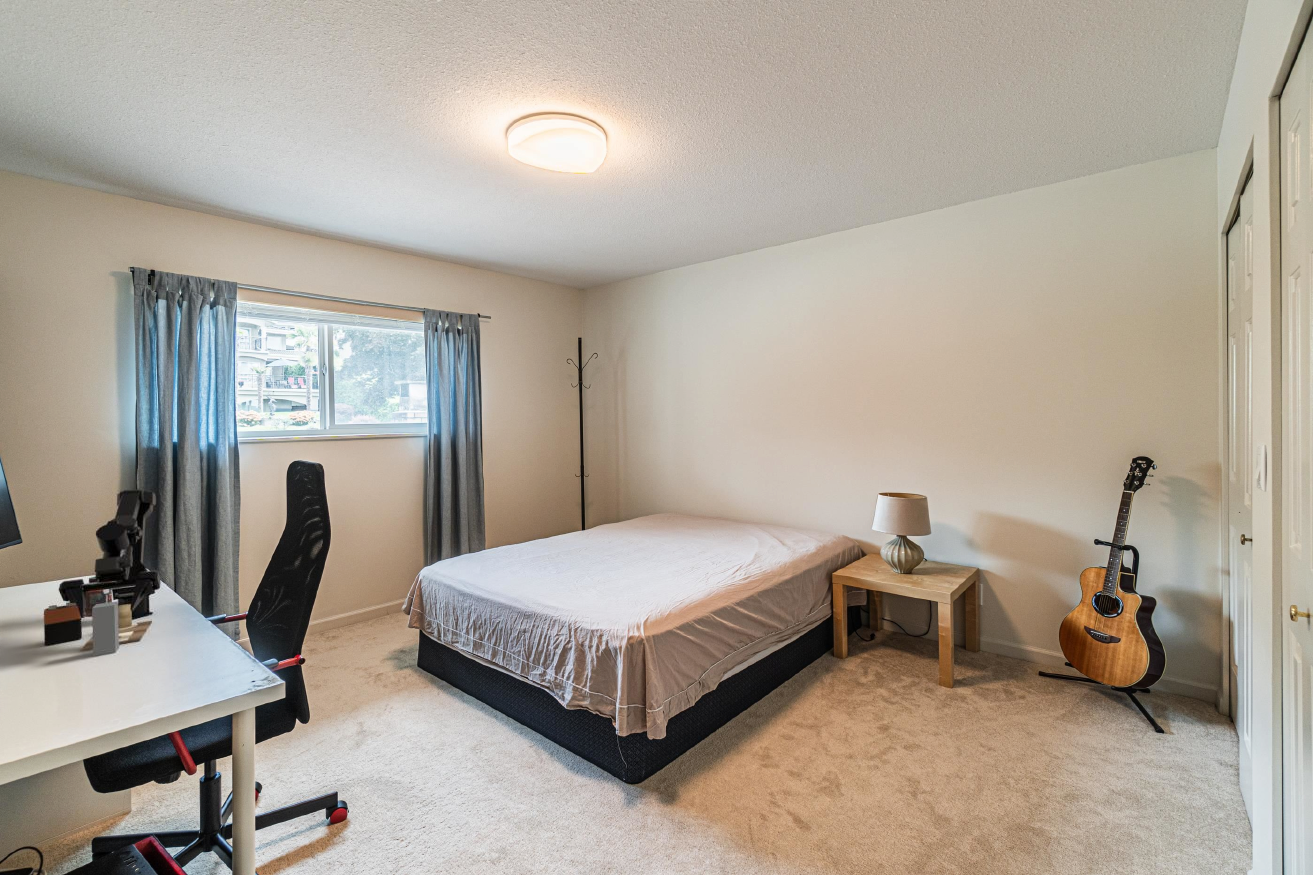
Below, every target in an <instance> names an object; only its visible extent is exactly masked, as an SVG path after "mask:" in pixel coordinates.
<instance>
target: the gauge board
mask: <svg viewBox="0 0 1313 875" xmlns="http://www.w3.org/2000/svg"><path fill="white" fill-rule="evenodd" d="M130 608H131V604H127V605H121V606H118V624H119V646H121V645H126V644H132V643H138V642H140V641H141V640H142V639H143V637H144V636H145V634H146V633H147V631H148V629H149V628H150V626H151V625H152V623H153V620H145V621H140V622H133V619H132V611H131V610H130ZM80 649H81V652H83V651H90V650H93V636H91V637H90V639H89V640H88V641H87V642H86V643H85V644H84V645H83V646H82V647H81V648H80Z"/></svg>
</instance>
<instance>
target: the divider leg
mask: <svg viewBox="0 0 1313 875" xmlns="http://www.w3.org/2000/svg"><path fill="white" fill-rule="evenodd" d="M91 618H92V623H91V624H92V637H93V649H92V650H93V651H92V654H93V657H99V656H105V655H111V654H116V653H117V651H119V649H120V645H119V624H118V600H117V601H112V602H110V603H102V604H96V605H95V606H94V607H93V608H92V616H91Z"/></svg>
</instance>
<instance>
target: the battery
mask: <svg viewBox="0 0 1313 875" xmlns="http://www.w3.org/2000/svg"><path fill="white" fill-rule="evenodd" d="M82 626H83V625H82V618H81V616H80V613H79V610H78V606H77V605H76V603H70V602H69V601H68V602H65V604H64V605H59V606H58V605H57V604H53V605H49V606H48V607H47V608H45V609H44V610H43V632H44V637H43V638H44V647H45V646H46V647H48V646H53V645H59V644H64V643H68V642H73V641H79V640H81V639H82V638H83V632H82V630H83V629H82V628H83V627H82Z"/></svg>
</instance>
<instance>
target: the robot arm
mask: <svg viewBox="0 0 1313 875" xmlns="http://www.w3.org/2000/svg"><path fill="white" fill-rule="evenodd" d="M156 496H157V495H156V494H155V493H154V491H151V490H143V489H138V488H137V489H123V490H120V492H119V493H117V494H116V506H117V509H116V513H115V516H114V518H112V519H110V520H108V521H107V522H106V524H103V525H102V526H100V527H99V528H98V529H97V530H96V531H95V536H96V539H97V543H98V546H99V548H100V551H102V558H96V559H95V562H94V573H95V575H94V577H95V578H96V580H97V579H98V582H95V583H89V582H88V583H87V582H86V583H85V582H84V579H83V578H79V579H71V580H64V581H62V582H61V583H60V584H59V586H58V592H59V594H60V597H61V599H62V601H63V602H65V603H68V602H70V603H76V605H77V606H78V610H79V613H80V616H81V619H84V618H85V615H86V614H85V608H86V598H85V597H86V592H88V591H96V590H104V589H112V601H116V600H117V601H118V606H121V605H127V604H131V608H130V610H131V611H132V620H135V619H138V618H143V617H145V616H150V615H154V612H153V611H151V609H150V596H151V595H154V594H156V591H158V590H159V589H160V588H161V583H162V582H161V577H160V574H159V571H158V570H148V568H147V567H146V566H145V565H144V551H145V550H144V548H145V532H146V531H145V530H146V520H147V519H148V517H150V515H152V513H153V509H154V506H155V505H156V503H157V499H156Z"/></svg>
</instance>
